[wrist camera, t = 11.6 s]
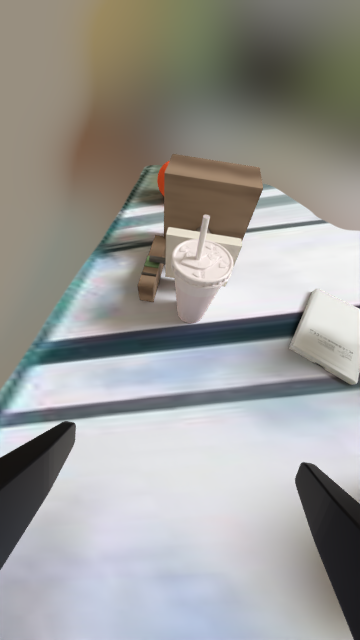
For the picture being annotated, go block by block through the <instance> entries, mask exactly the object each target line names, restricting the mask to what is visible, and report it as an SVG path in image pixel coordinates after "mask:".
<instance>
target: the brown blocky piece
mask: <svg viewBox="0 0 360 640" xmlns="http://www.w3.org/2000/svg"><path fill="white" fill-rule="evenodd" d="M262 190H263V185H262V179H261V174H260V168H259V167H252V166H246V165H239V164H233V163H227V162H220V161H214V160H208V159H201V158H195V157H189V156H182V155H176V154H173V155H172V157H171V159H170V161H169V164H168V166H167V168H166V171H165V173H164V237H163V236H157V235H155V238H154V241H153V243H152V246H151V249H150V252H149V255H148V256H147V259H146V262H145V265H144V269H143V272H142V273H141V274H142V275H141V277H140V280H139V283H138V292H139V298H140V300H144V301H150V302H154V298H155V295H156V291H157V287H158V284H159V280H160V277H161V273H162V269H163V266H164V264H161V263H155V262H149V257H150V255H151V256H158V257H164V258H166V233H167V230H168V227H172V228H179V229H185V230H191V231H197V232H200V231H201V225H202V220H203V216H204V215H209V216H210V220H209V224H208V229H207V233H210V234H216V235H222V236H228V237H234V238H240V239H242V240H243V237H244V235H245V232H246V230H247V227H248V225H249V222H250V220H251V217H252V215H253V212H254V210H255V207H256V205H257V202H258V200H259V197H260V195H261V193H262Z"/></svg>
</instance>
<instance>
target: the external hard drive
mask: <svg viewBox="0 0 360 640" xmlns="http://www.w3.org/2000/svg"><path fill="white" fill-rule="evenodd" d="M289 349H291V350H293V351H294V352H296V353H298V354H299V355H301V356H303V357H305V358H306V359H308V360H310V361H311V362H313V363H314V362H315V363H316V364H318V365H320V366H322V367H323V368H324V369H325V370H327V371H328V372H330V373H332V374H333V375H335V376H337V377H338V378H340V379H342V380H343V381H345V382H347V383H349V384H350V385H354V384H357V382H358V376H359V370H360V309H359V308H356V307H355V306H352V305H350V304H348V303H346V302H344V301H342V300H340V299H338V298H336V297H334V296H332V295H330V294H328V293H326V292H324V291H322V290H320V289H315V290H314V291H313V292H312V294H311V296H310V298H309V301H308V303H307V306H306V308H305V310H304V313H303V315H302V317H301V320H300V322H299V325H298V327H297V329H296V332H295V334H294V336H293V339H292V341H291V343H290V346H289Z"/></svg>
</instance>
